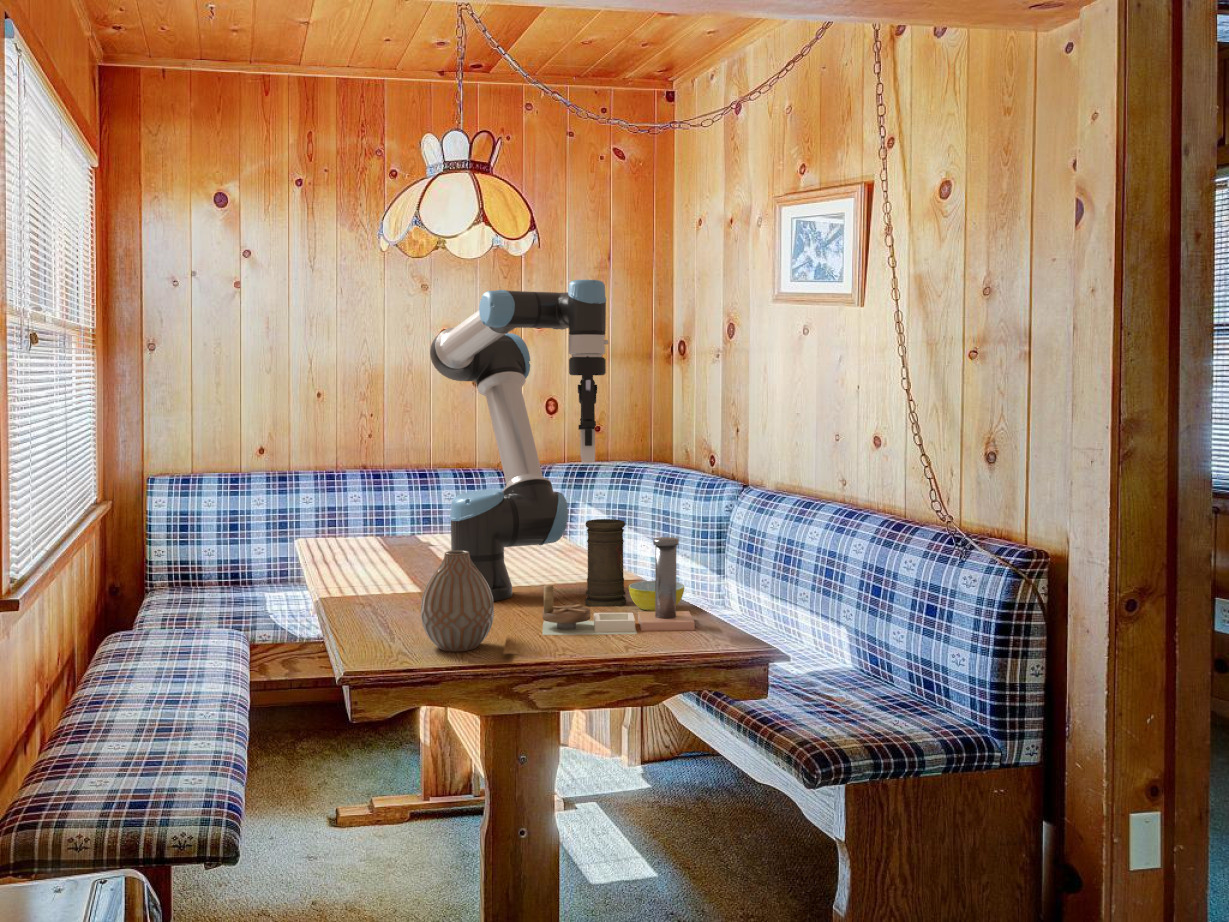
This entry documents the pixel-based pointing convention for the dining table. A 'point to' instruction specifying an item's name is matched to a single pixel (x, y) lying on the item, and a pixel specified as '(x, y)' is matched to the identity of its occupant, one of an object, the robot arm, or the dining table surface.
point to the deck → (594, 625)
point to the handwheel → (562, 610)
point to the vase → (457, 604)
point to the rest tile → (666, 621)
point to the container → (605, 563)
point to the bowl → (649, 594)
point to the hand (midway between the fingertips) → (587, 459)
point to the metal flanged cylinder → (665, 577)
